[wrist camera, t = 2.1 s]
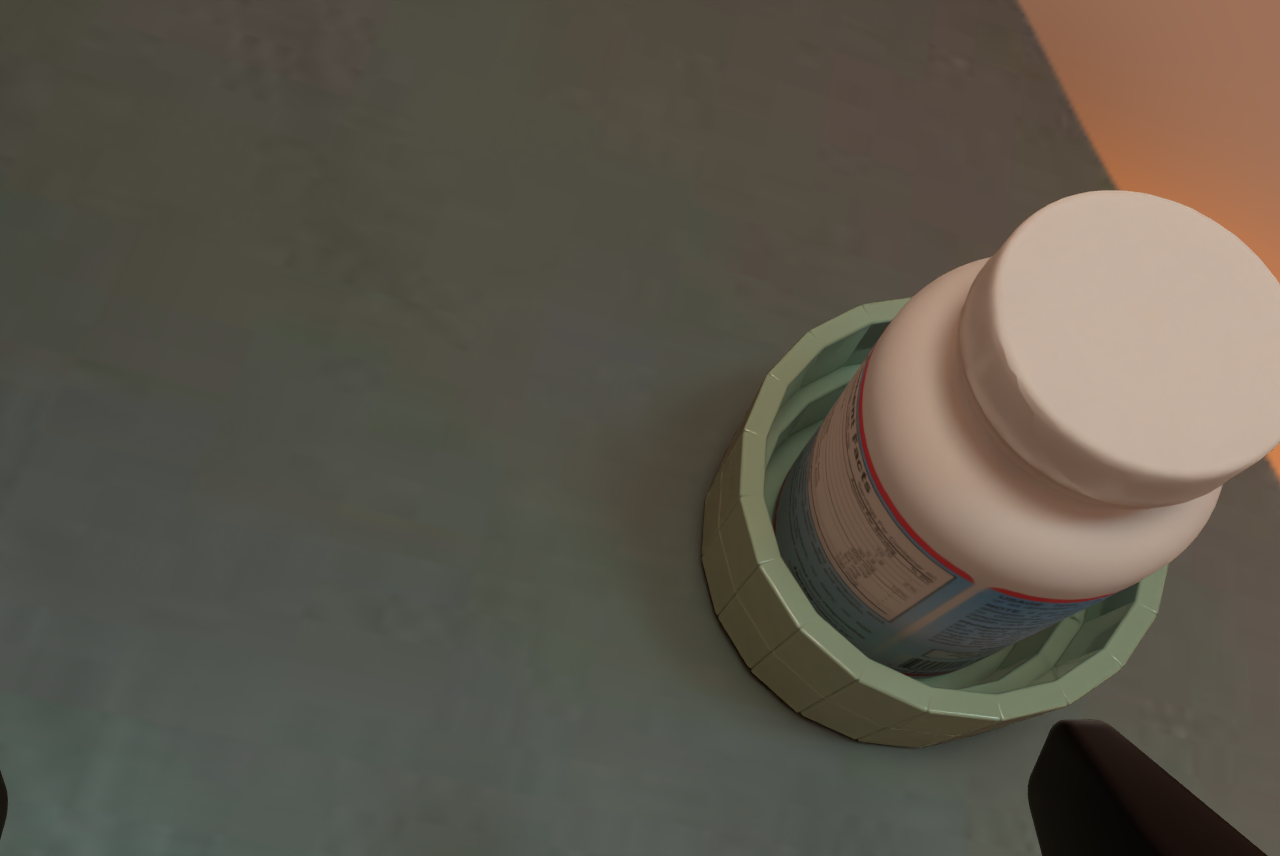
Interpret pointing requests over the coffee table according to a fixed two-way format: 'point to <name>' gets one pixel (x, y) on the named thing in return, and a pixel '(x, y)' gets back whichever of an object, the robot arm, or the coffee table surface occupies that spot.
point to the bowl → (816, 652)
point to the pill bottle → (1036, 432)
